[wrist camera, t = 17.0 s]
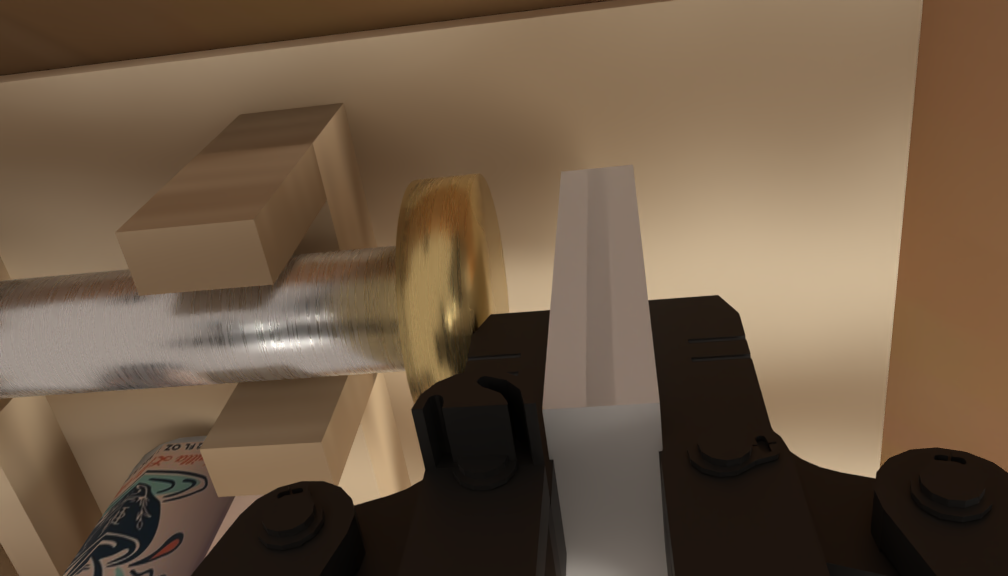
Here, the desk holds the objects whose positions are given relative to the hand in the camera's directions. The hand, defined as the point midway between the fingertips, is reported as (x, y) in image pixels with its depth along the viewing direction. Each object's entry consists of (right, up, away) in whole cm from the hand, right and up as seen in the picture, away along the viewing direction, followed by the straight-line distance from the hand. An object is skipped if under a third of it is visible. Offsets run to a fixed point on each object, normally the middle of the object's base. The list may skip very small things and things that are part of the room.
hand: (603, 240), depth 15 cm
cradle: (-4, -3, +5) cm, 7 cm away
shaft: (-8, -1, +1) cm, 8 cm away
